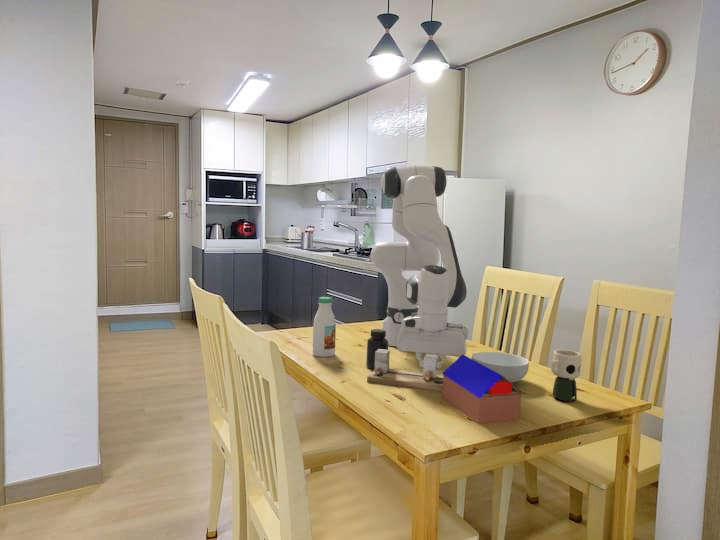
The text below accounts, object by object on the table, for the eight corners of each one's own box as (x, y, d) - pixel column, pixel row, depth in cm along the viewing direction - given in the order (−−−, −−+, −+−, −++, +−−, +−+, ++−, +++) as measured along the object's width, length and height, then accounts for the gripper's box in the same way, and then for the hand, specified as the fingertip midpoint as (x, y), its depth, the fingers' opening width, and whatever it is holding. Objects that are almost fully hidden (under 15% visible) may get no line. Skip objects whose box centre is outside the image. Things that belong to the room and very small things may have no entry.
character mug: (560, 405, 141) (563, 357, 140) (539, 397, 147) (543, 351, 146) (588, 400, 146) (592, 354, 145) (568, 392, 152) (571, 348, 151)
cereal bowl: (539, 385, 158) (541, 362, 157) (498, 392, 150) (499, 368, 149) (498, 370, 173) (500, 348, 172) (458, 376, 165) (460, 353, 164)
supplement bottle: (385, 370, 168) (387, 333, 166) (364, 369, 169) (365, 331, 168) (388, 365, 174) (390, 329, 173) (368, 363, 176) (369, 327, 174)
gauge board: (377, 371, 166) (378, 347, 166) (464, 382, 158) (466, 356, 158) (367, 381, 156) (368, 355, 155) (460, 393, 148) (461, 366, 147)
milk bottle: (315, 358, 180) (317, 299, 178) (310, 352, 187) (311, 296, 185) (337, 357, 182) (339, 299, 180) (331, 351, 189) (333, 295, 187)
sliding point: (425, 373, 160) (426, 354, 159) (437, 375, 159) (438, 355, 158) (421, 380, 153) (422, 359, 153) (433, 381, 152) (434, 361, 152)
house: (479, 394, 149) (482, 353, 148) (521, 421, 130) (524, 374, 129) (440, 397, 145) (442, 355, 144) (477, 425, 126) (480, 377, 125)
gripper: (469, 323, 155) (467, 369, 157) (401, 317, 161) (399, 361, 163) (467, 326, 149) (464, 375, 151) (396, 320, 155) (394, 366, 157)
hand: (430, 368), depth 157 cm, fingers closed on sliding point, 3 cm apart
